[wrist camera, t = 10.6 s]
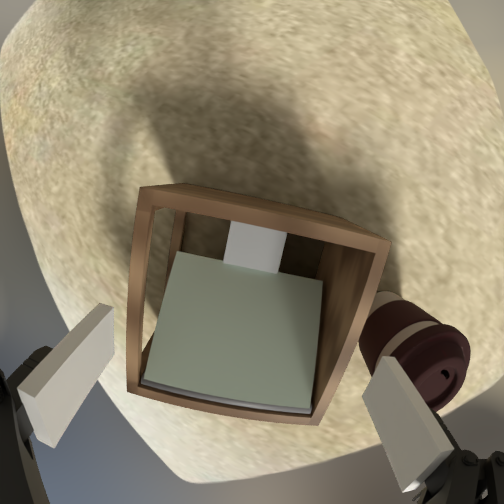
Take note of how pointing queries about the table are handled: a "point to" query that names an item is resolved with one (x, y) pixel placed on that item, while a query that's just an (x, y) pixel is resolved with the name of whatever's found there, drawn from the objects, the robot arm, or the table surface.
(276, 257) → the block
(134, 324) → the box frame
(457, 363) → the coffee cup
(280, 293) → the trapdoor
